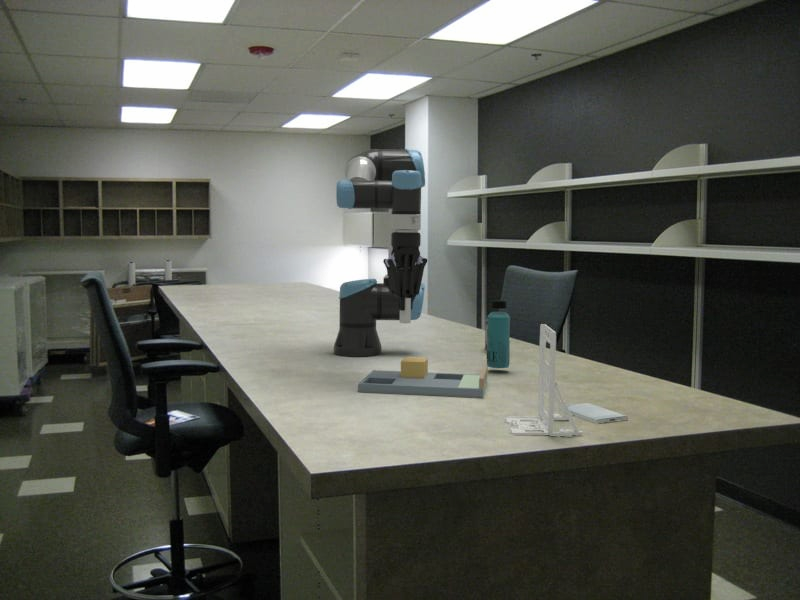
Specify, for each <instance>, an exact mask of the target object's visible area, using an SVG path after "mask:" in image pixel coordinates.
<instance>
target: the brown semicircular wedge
mask: <svg viewBox="0 0 800 600" xmlns="http://www.w3.org/2000/svg"><path fill="white" fill-rule="evenodd" d="M484 320H485V321H484V322H485V323H484V326H485V328H484V331H485V332H484V333H485V334H484V335H485V336H484V338H485V339H484V350H485V353H487V329H488V318H485V319H484Z"/></svg>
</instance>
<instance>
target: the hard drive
mask: <svg viewBox="0 0 800 600" xmlns="http://www.w3.org/2000/svg"><path fill="white" fill-rule="evenodd" d="M566 405H567V407H568V409H569V411H570V413H571V414H572V416H573V415H575V416H574V417H576V416H577V417H576V418H578V417H580V418H579V419H581V418H583V419H582V420H584V419H585V420H584V421H587V420H588V421H587V422H590V421H591V422H590V423H592V422H594V423H593V424H595V423H601V424H605V423H604V422H609V423H612V422H611V421H617V420H624V419H629V417H628V415H624V414H622V413H620V412H616V411H613V410H610V409H607V408H604V407H601V406H598V405H595V404H593V403H589V402H583V403H575V404H566ZM558 407H559V406H558ZM563 408H564V407H563ZM558 409H559V410H560V407H559V408H558ZM559 410H558V411H559ZM564 410H565V409H564ZM565 412H566V411H565ZM617 422H618V421H617Z"/></svg>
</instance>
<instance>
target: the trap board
mask: <svg viewBox="0 0 800 600" xmlns="http://www.w3.org/2000/svg"><path fill="white" fill-rule="evenodd" d="M482 366H483V367H482V369H481V372H480V374H473V373H451V372H450V373H448V372H429V371H428V374H427V375H426V376H425V378H413V377H401V370H400V371H399V370H398V371H397V370H383V369H382V370H376V369H374V370H372V371H371V372H370V373H368V374H367V375H366V376H365V377H364V378H363V379H361V381H359V382H358V383H357V392H358V393H373V394H374V393H376V394H397V395H416V396H417V395H419V396H435V397H436V396H438V397H440V396H441V397H460V398H477V399H478V398H481V399H482V398H483V399H484V395H485V391H486V388H487V384H488V368H489V367H488V365H487V364H485V365H484V364H483V365H482Z"/></svg>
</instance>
